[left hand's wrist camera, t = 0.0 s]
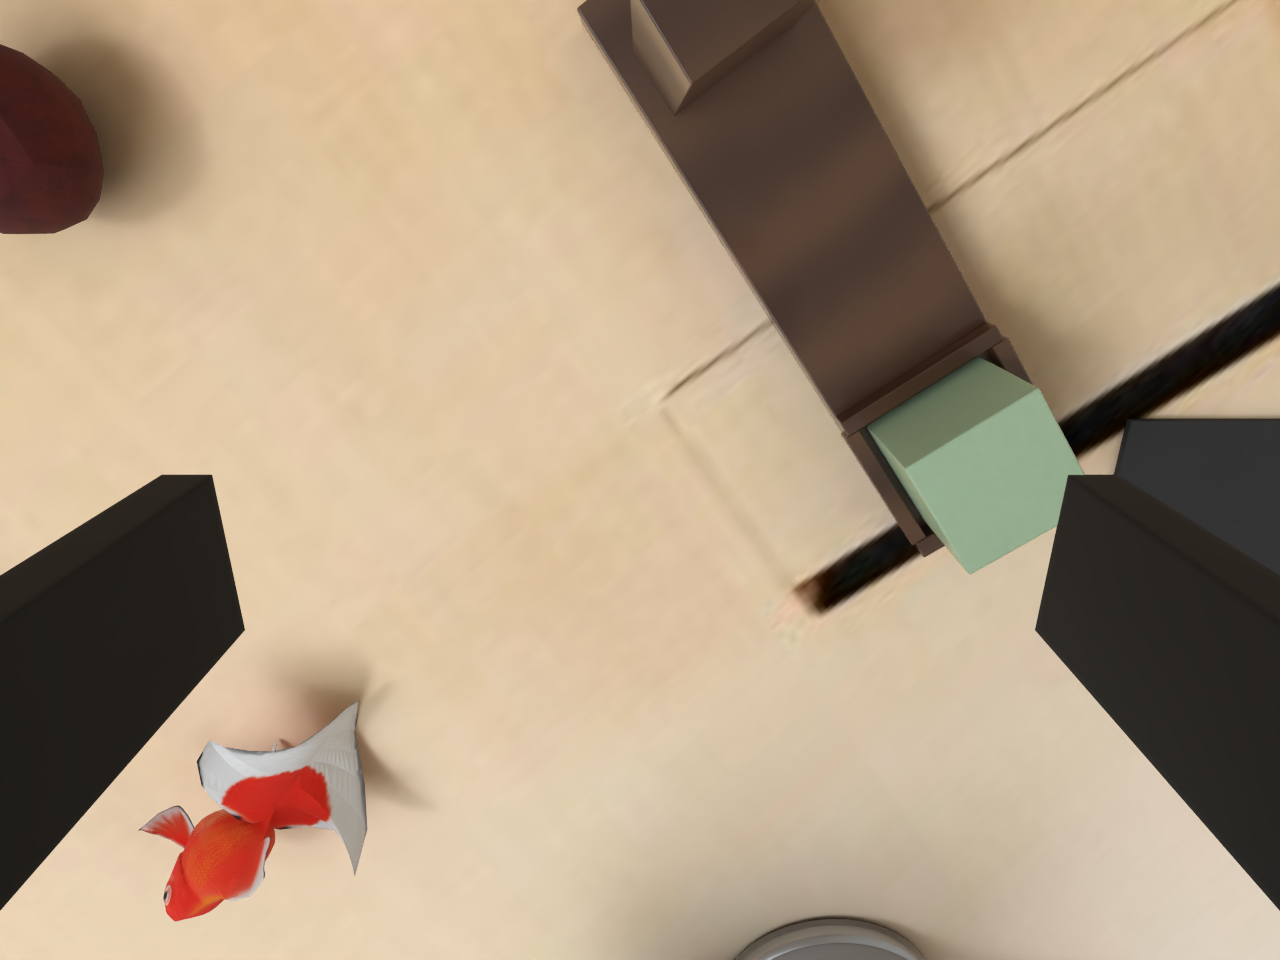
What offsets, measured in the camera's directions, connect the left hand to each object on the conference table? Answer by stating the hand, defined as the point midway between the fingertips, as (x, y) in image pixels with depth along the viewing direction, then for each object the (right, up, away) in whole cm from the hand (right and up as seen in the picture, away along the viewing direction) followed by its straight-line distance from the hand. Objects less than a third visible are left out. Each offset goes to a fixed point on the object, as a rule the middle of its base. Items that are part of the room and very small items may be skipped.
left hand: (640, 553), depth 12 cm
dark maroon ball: (-27, +17, +24) cm, 39 cm away
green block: (+15, +3, +26) cm, 30 cm away
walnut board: (+9, +12, +25) cm, 30 cm away
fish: (-22, -16, +36) cm, 45 cm away
